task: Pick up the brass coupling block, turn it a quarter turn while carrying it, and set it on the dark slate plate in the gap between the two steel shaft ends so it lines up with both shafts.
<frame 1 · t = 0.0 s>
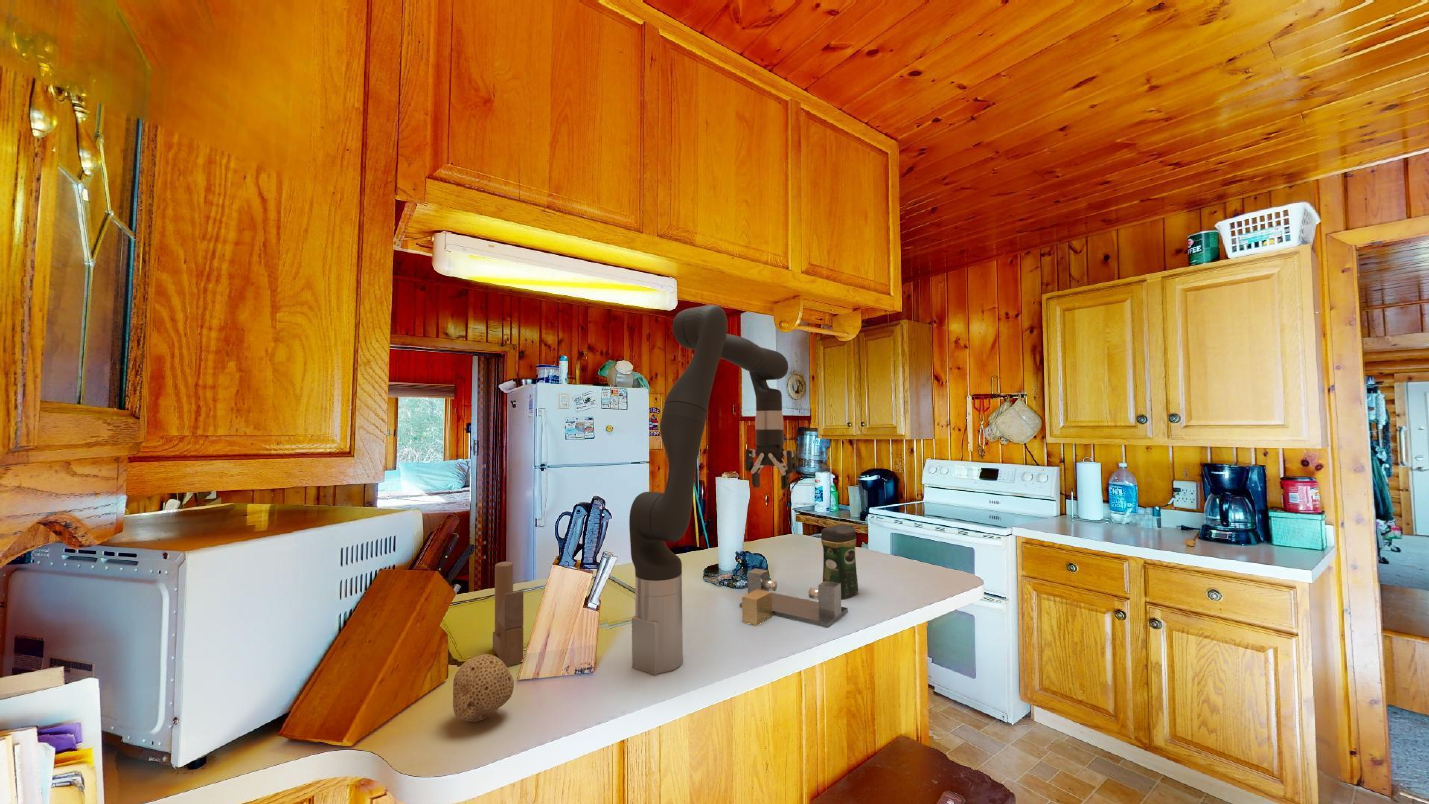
hand: (770, 488, 142), 29 cm above the countertop, tool pointing down, fingers open, 8 cm apart
wooden block: (507, 656, 108), on the countertop
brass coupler: (757, 619, 127), on the countertop
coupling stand: (792, 609, 133), on the countertop
natural sponge: (483, 720, 85), on the countertop
coffee jar: (839, 594, 144), on the countertop
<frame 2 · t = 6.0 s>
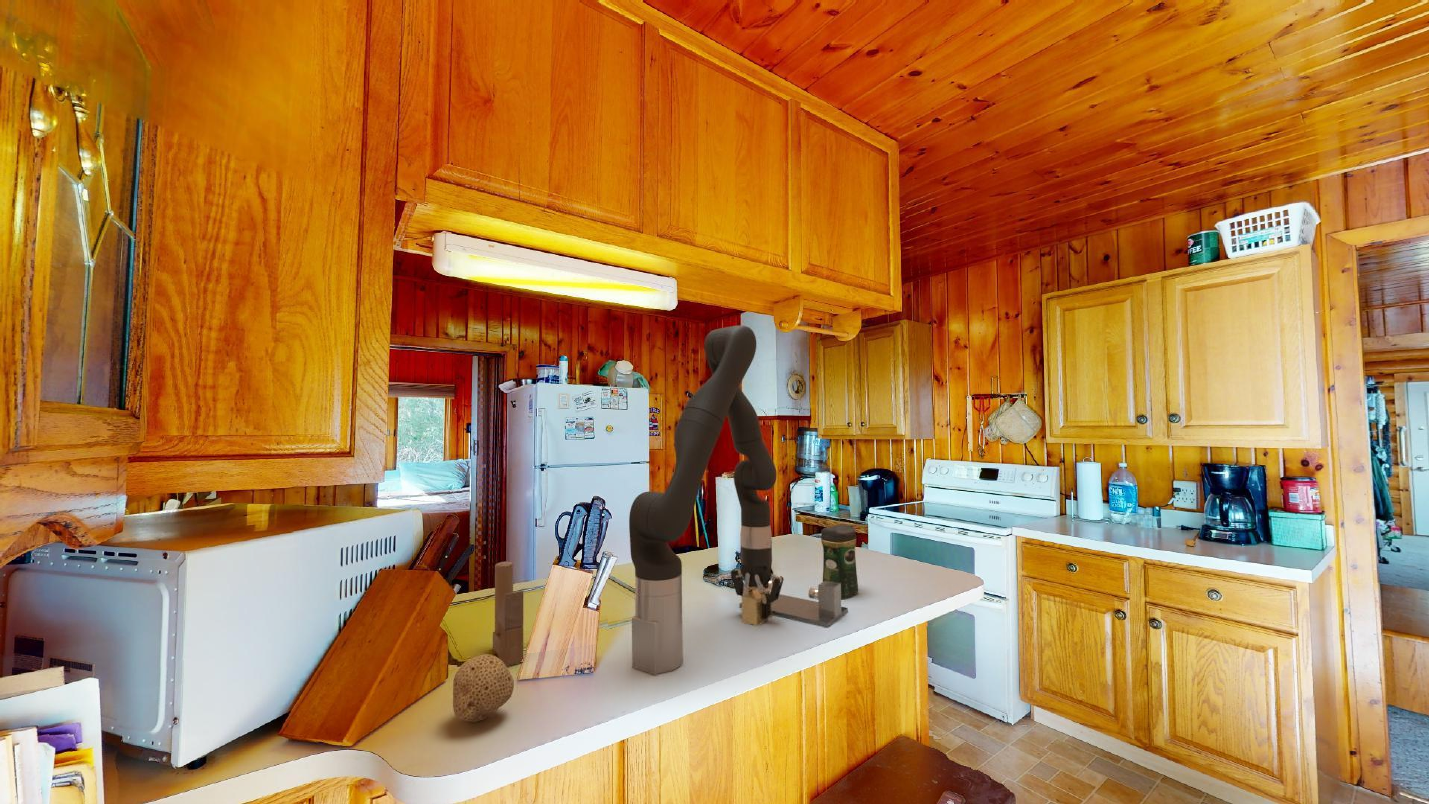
hand: (757, 616, 127), 1 cm above the countertop, tool pointing down, fingers closed on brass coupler, 4 cm apart
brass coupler: (757, 619, 127), on the countertop, touching gripper
everything else where it was.
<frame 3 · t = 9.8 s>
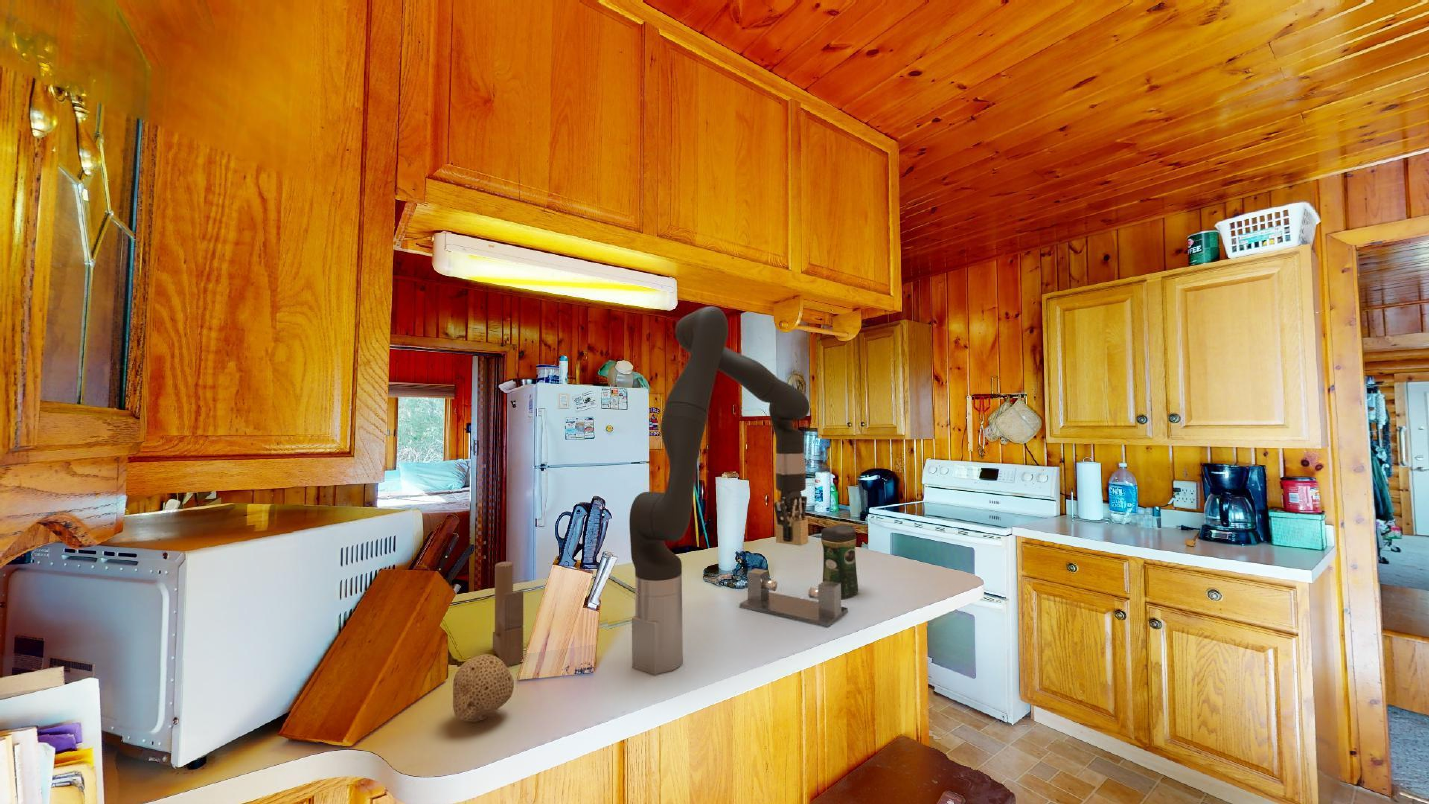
hand: (791, 539, 133), 17 cm above the countertop, tool pointing down, fingers closed on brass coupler, 4 cm apart
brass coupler: (792, 542, 133), point 17 cm above the countertop, touching gripper
everything else where it was.
when the fingers open (3 cm above the countertop, at t = 13.4 s): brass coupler stays where it is, resting on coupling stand.
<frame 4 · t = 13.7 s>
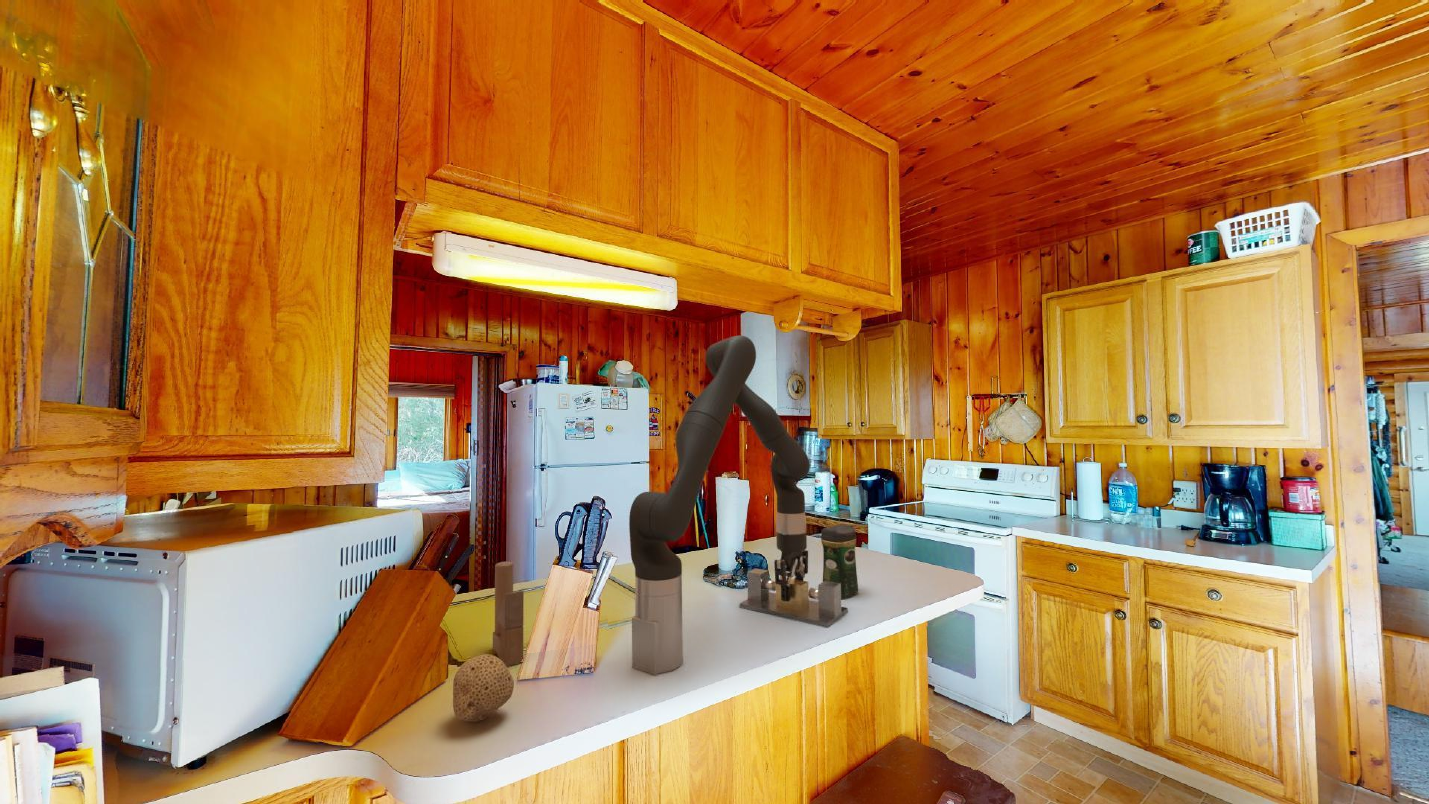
hand: (792, 596, 133), 3 cm above the countertop, tool pointing down, fingers open, 6 cm apart
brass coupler: (792, 605, 133), point 1 cm above the countertop, touching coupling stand
everything else where it was.
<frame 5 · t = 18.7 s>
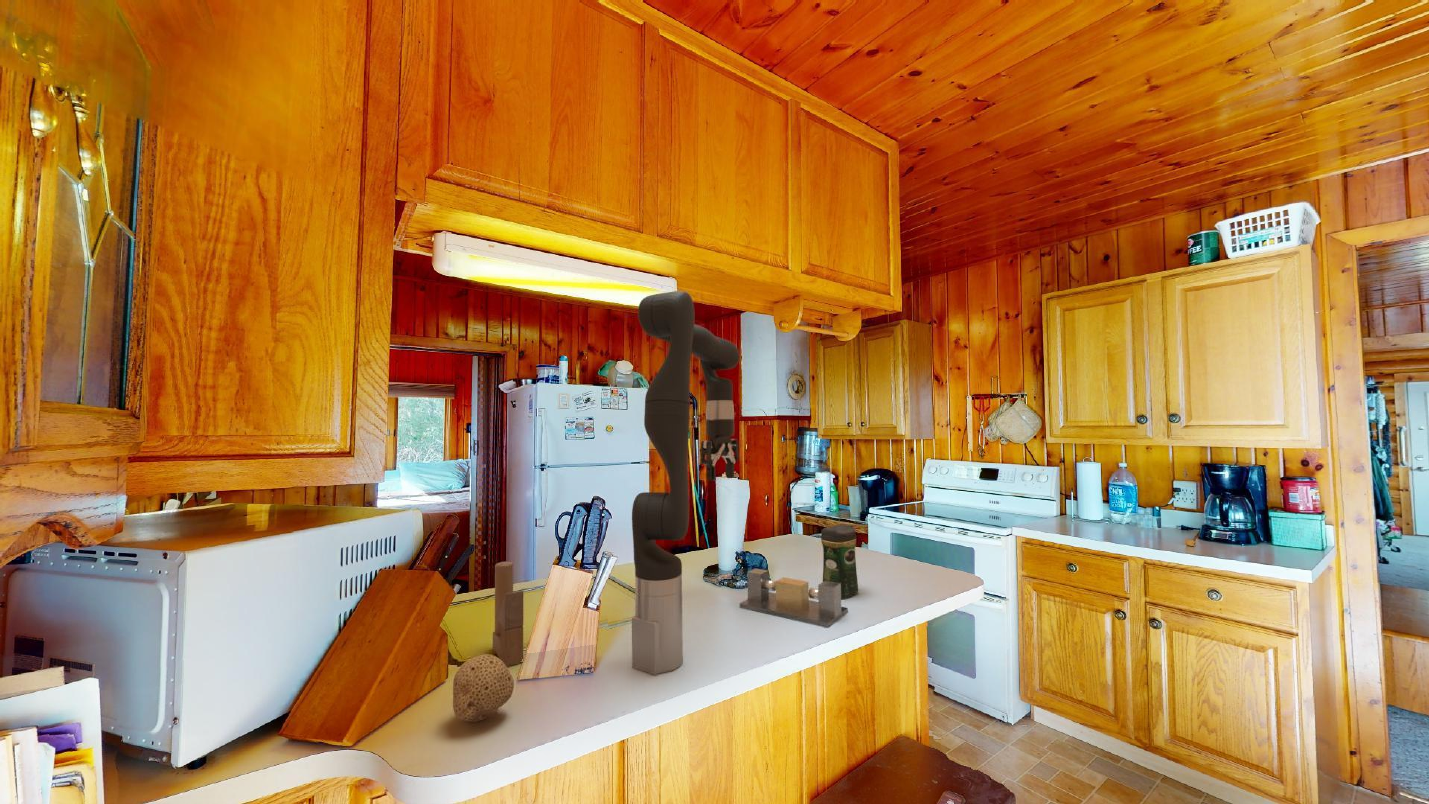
hand: (720, 479, 141), 32 cm above the countertop, tool pointing down, fingers open, 8 cm apart
nothing on the countertop moved.
at the end: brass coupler 0.1 cm off-centre on the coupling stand, point 1.0 cm above the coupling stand's base; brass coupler tilted 0°; the gripper is holding nothing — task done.
